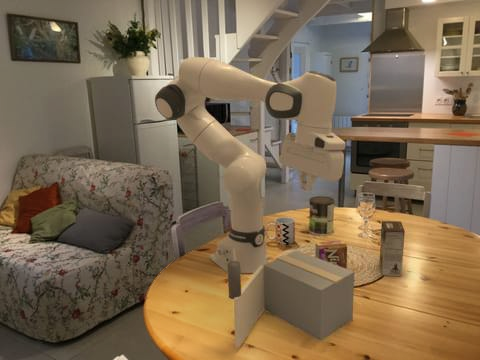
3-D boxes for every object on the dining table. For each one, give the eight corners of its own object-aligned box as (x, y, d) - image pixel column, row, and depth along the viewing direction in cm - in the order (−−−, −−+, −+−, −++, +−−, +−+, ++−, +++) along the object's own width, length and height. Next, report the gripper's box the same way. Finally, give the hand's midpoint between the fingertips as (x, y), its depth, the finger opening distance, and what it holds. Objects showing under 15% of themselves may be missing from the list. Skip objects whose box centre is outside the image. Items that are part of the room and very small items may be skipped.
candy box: (342, 285, 133) (343, 239, 130) (346, 291, 129) (348, 245, 125) (314, 287, 132) (315, 241, 129) (318, 294, 128) (319, 247, 125)
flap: (254, 306, 121) (252, 237, 116) (264, 308, 119) (263, 238, 114) (227, 345, 104) (224, 266, 98) (239, 347, 102) (236, 268, 97)
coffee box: (378, 263, 147) (381, 220, 143) (398, 264, 146) (400, 221, 142) (381, 275, 139) (384, 229, 135) (402, 277, 137) (405, 230, 133)
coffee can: (315, 237, 173) (316, 204, 169) (304, 228, 182) (305, 197, 179) (338, 233, 176) (339, 201, 172) (326, 225, 185) (326, 195, 182)
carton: (263, 309, 120) (262, 263, 117) (296, 292, 129) (296, 249, 126) (321, 341, 106) (322, 289, 102) (353, 319, 115) (355, 271, 111)
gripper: (277, 130, 114) (271, 180, 117) (332, 144, 98) (324, 201, 101) (295, 131, 118) (289, 179, 121) (351, 144, 102) (342, 199, 105)
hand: (305, 189), depth 111 cm, fingers closed
